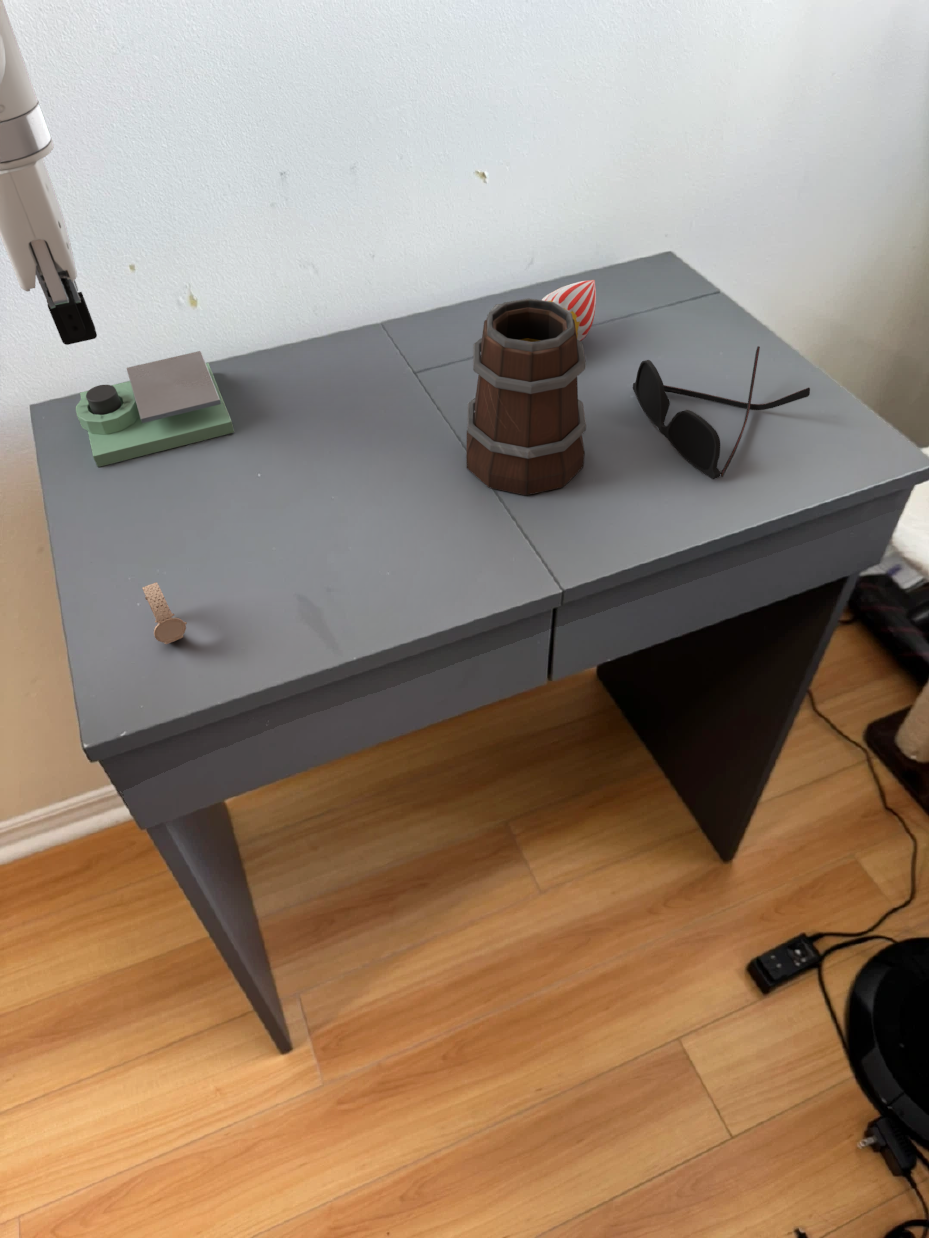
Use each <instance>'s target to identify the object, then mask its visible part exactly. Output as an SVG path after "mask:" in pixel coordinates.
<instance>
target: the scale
mask: <svg viewBox="0 0 929 1238" xmlns="http://www.w3.org/2000/svg"><path fill="white" fill-rule="evenodd" d="M205 363H206V365H207V368H208V371H209V373H210V376H211V378H212V381H213V383H214V386H215V388H216V391H217V394H218V396H219V399H220V402H221V404H220V405H215V406H211V407H207V408H203V409H199V410H195V411H191V412H187V413H183V414H179V415H175V416H171V417H167V418H163V419H158V420H154V421H150V422H146V423H142V421H141V418H140V415H139V411H138V408H137V404H136V401H135V397H134V393H133V390H132V386H131V383H130V380H129V381H124V382H119V383H116V384H115V383H114V384H110V385H111V386H113V387H115V389H116V391H117V393H118V396H119V399H120V401H121V407H120V409H118V410H116V411H115V412H113V413H109V414H105V415H97V414H94V413H93V412H92V410H91V408H90V405H89V403H88V401H87V398H86V394H87V392H88V391H89V390H85V391H82V392H79V395H80V400H79V402H78V403H77V404H76V406H75V413H76V417H77V419H78V422H79V423H80V426H81V428H82V429H83V430H85V431H87V435H88V439H89V443H90V448H91V453H92V458H93V460H94V462H95V464H96V467H97V468H99V467H105V466H107V465H112V464H115V463H120V462H125V461H127V460H131V459H134V458H139V457H143V456H147V455H150V454H155V453H158V452H162V451H166V450H171V449H175V448H179V447H182V446H185V445H186V446H187V445H190V444H195V443H199V442H202V441H206V440H210V439H214V438H219V437H222V436H226V435H230V434H233V433H235V429H234V425H233V422H232V418H231V416H230V414H229V411H228V409H227V407H226V404H225V400H224V398H223V396H222V394H221V391H220V388H219V386H218V384H217V381H216V378H215V376H214V373H213V371H212V368H211V366H210V363H209V362H205Z"/></svg>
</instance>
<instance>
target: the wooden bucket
mask: <svg viewBox="0 0 929 1238" xmlns="http://www.w3.org/2000/svg"><path fill="white" fill-rule="evenodd" d="M472 349H473V350H472V354H473V355H472V356H473V357H472V359H473V360H472V363H473V364H472V366H473V367H472V369H473V372H474V373H475V374H477V384H476V391H475V397H473V399H471V400H470V401H469V402H467V415H466V416H467V417H466V420H467V424H466V425H467V427H466V428H467V430H466V445H465V446H466V450H465V451H466V454H465V455H466V456H465V458H466V460H465V461H466V469H467V470H468V471H469V472H470V473H472V474H473V475H474V476H475V477H476V478H477V479H479V481H481V482H482V483H483V484H484V485H485V486H486V487H488V488H489V489H494V490H497V491H498V490H499V491H504V492H508V493H513V494H517V495H522V496H530V495H533V494H540V493H543V492H544V493H545V492H549V491H552V490H556V489H557V490H558V489H563V488H564V487H565V486H566V485H567V484H568V483H569V482H570V481H571V480H572V479H573V478H574V477H575V476H576V475H577V474H578V473H579V472H580V471H581V470H582V469H583V468H584V463H585V462H584V461H585V454H586V453H585V447H584V446H585V445H584V439H583V434H584V433H586V431H587V421H586V415H585V409H584V402H583V401H581V400H580V399H579V394H578V393H579V392H578V391H579V387H578V376H580V375H581V374H582V373H583V372H584V371H585V370H586V364H587V363H586V355H585V350H584V349H585V348H584V345H583V342H582V340H581V341H579V340H577V335H576V328H575V321H574V319H573V317H572V313H570V312H568V311H567V310H565V309H564V308H562V307H561V306H559V305H557V304H556V303H554V302H550V301H543V300H542V299H536V298H529V297H528V298H523V299H517V300H511V301H505V302H503V303H498V304H494V305H493V307H492V308H491V309H490V310H489V312H488V313H487V315H486V319H485V320H484V321H483V327H482V334H481V338H480V339H478V340H477V341H475V342H474V343H473V346H472Z"/></svg>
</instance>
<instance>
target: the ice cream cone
mask: <svg viewBox="0 0 929 1238" xmlns="http://www.w3.org/2000/svg"><path fill="white" fill-rule="evenodd" d="M541 300H543V301H550V302H554V303H556V304H557V305H559V306H561V307H562V308H564V309H565V310H567V311H568V312H570V313H572V317H573V319H574V321H575V328H576V335H577V340H579V341H581V342H582V341H583V340H584V339H585V338H586V337H587V335H588V333H589V332H590V331H591V328H592V326H593V323H594V319H595V314H596V305H597V304H596V303H597V290H596V280H595V279H589V280H582V281H581V280H580V281H577V282H574V283H571V284H567V285H563V286H561V287H559V288H557V289H555V290H554V291H552V292H550V293H548V294H547V295H545V296H544V297H543V298H542V299H541Z"/></svg>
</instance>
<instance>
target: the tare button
mask: <svg viewBox="0 0 929 1238" xmlns="http://www.w3.org/2000/svg"><path fill="white" fill-rule="evenodd" d="M111 385H112V384H99V385H96V386H93V387H91V388H90V389H89V390H87V391H88V392H87V394H86V398H87V401H88V403H89V405H90V408H91V410H92V412H93V413H94V414H97V415H105V414H109V413H113V412H115V411H116V410H118V409H120V407H121V401H120V399H119V396H118V393H117V391H116V389H115V387H113V386H111Z"/></svg>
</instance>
